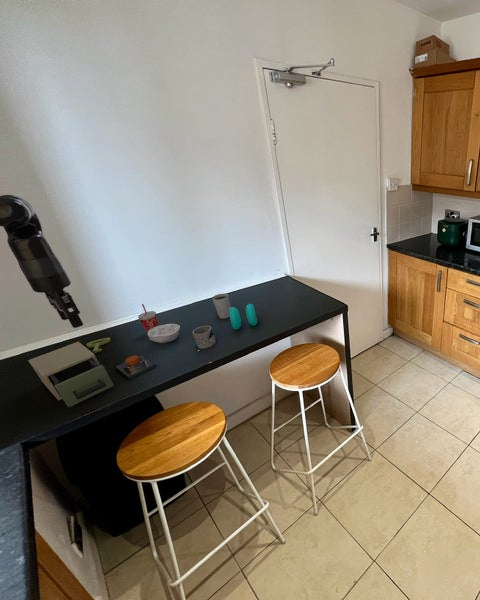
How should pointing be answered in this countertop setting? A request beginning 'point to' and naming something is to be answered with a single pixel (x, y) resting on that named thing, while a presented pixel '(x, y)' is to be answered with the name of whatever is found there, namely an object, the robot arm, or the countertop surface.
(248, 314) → the donuts
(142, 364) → the control block
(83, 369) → the pull-out drawer
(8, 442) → the countertop surface
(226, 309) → the drinking glass
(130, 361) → the button
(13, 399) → the countertop surface
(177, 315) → the countertop surface
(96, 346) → the key
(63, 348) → the small drawer cabinet
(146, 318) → the beverage cup
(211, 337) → the mug
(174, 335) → the cell model
